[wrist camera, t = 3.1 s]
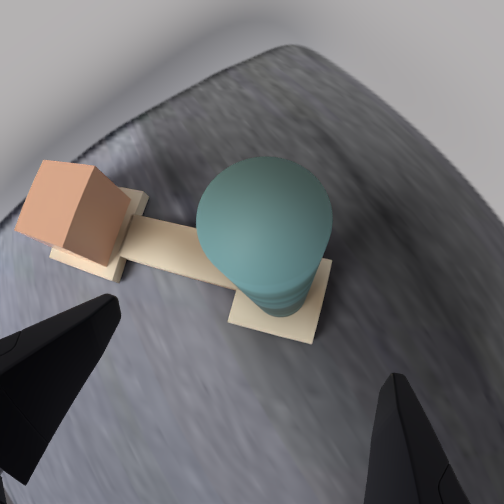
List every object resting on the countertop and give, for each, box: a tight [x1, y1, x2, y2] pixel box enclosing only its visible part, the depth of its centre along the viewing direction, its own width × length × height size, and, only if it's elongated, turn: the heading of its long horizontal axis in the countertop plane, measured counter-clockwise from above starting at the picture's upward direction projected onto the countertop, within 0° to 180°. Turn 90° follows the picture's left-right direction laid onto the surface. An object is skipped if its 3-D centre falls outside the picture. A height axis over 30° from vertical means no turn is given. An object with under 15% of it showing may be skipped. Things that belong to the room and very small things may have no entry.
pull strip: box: [49, 157, 333, 344], centre depth 15 cm, size 7×20×13 cm, turn 75°
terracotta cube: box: [14, 160, 131, 267], centre depth 19 cm, size 5×5×5 cm
